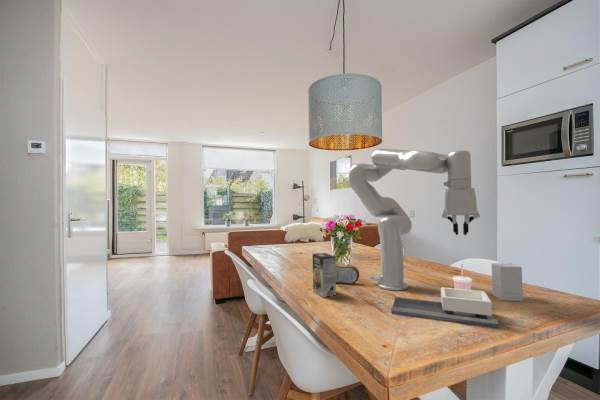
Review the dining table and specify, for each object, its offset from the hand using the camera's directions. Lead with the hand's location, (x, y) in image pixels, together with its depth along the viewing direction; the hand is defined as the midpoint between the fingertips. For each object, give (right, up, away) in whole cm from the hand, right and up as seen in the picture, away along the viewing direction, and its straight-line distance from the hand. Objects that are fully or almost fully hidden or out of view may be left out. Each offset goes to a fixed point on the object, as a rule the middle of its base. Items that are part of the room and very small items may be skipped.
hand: (460, 234), depth 104 cm
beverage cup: (+1, -25, 0) cm, 25 cm away
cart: (-6, -24, -13) cm, 28 cm away
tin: (-39, -27, +28) cm, 55 cm away
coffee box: (-49, -27, +13) cm, 57 cm away
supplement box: (+20, -25, +4) cm, 32 cm away
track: (-12, -25, -10) cm, 30 cm away
